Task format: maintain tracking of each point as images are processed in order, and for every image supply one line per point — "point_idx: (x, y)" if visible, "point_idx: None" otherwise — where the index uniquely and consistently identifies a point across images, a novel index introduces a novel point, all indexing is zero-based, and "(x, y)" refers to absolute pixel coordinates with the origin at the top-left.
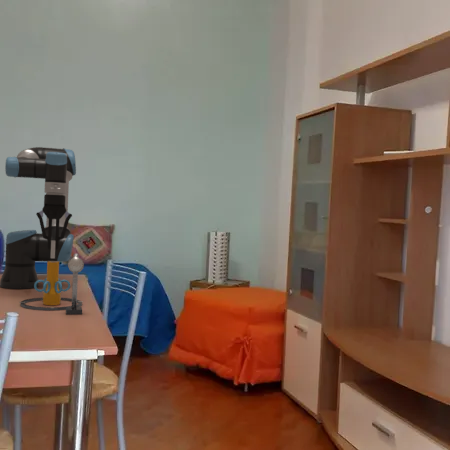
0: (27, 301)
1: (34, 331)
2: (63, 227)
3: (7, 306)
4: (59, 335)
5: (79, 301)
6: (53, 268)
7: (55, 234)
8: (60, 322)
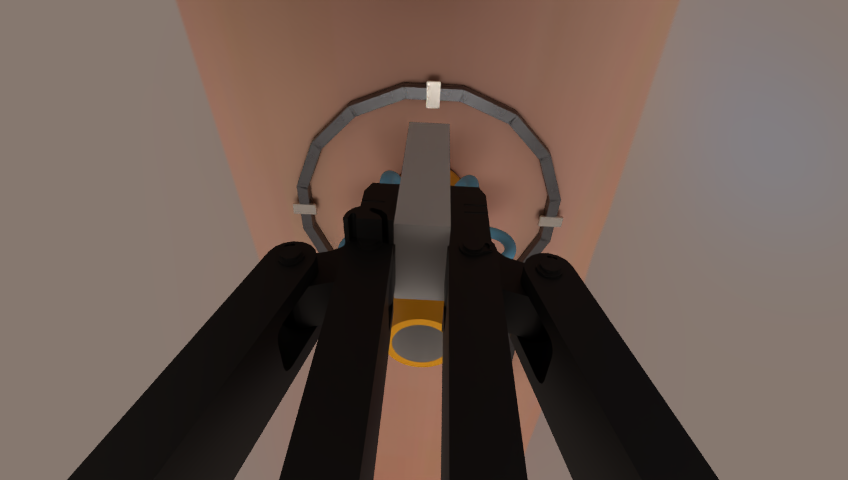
0: (321, 149)
1: (378, 453)
2: (572, 473)
3: (258, 221)
4: (425, 474)
5: (546, 219)
6: (423, 338)
7: (445, 329)
8: (436, 409)
